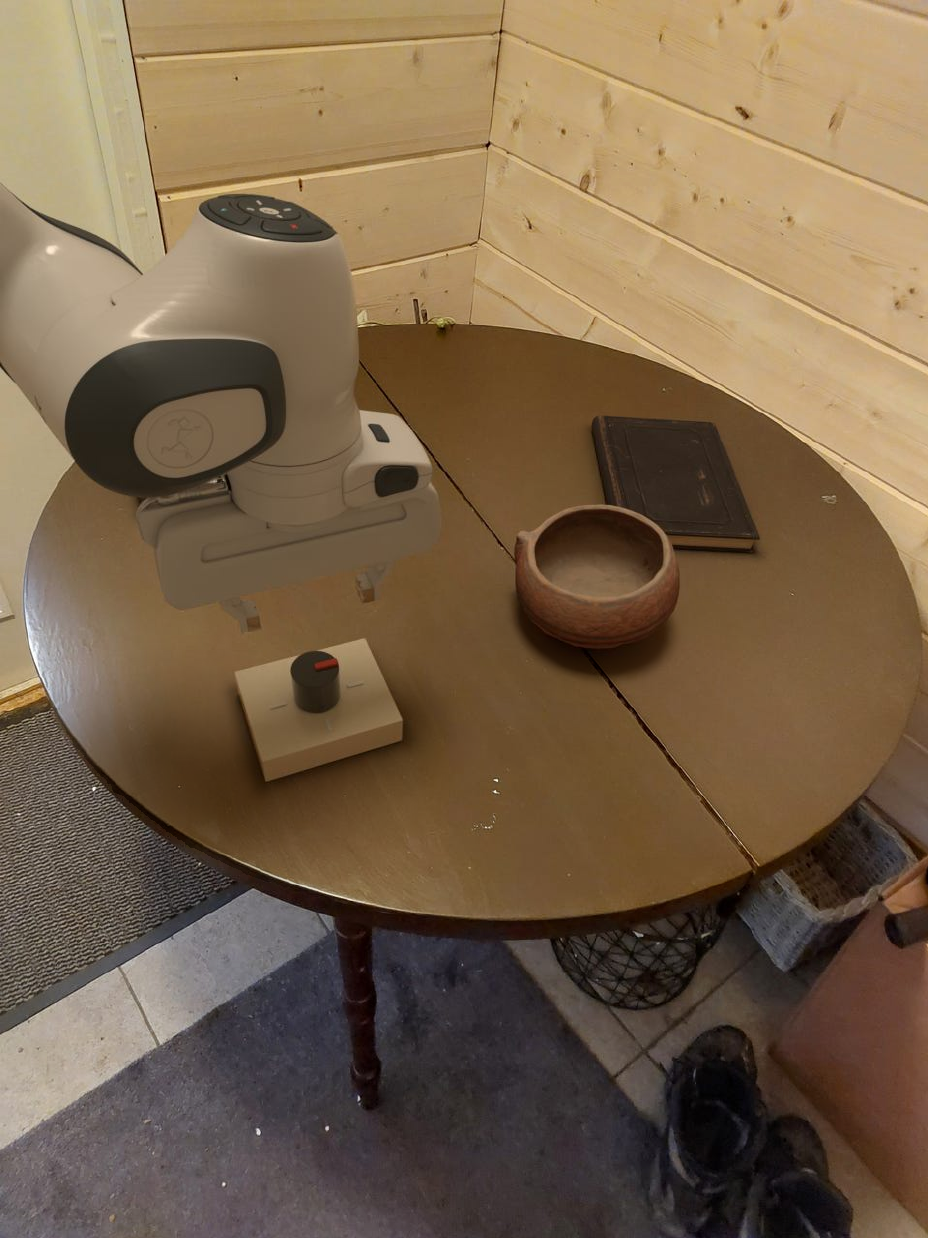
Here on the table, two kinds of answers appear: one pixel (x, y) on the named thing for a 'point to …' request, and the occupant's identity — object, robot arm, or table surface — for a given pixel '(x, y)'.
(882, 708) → the table surface
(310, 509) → the robot arm
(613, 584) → the bowl
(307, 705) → the hob knob
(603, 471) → the old dark book
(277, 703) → the hob panel
